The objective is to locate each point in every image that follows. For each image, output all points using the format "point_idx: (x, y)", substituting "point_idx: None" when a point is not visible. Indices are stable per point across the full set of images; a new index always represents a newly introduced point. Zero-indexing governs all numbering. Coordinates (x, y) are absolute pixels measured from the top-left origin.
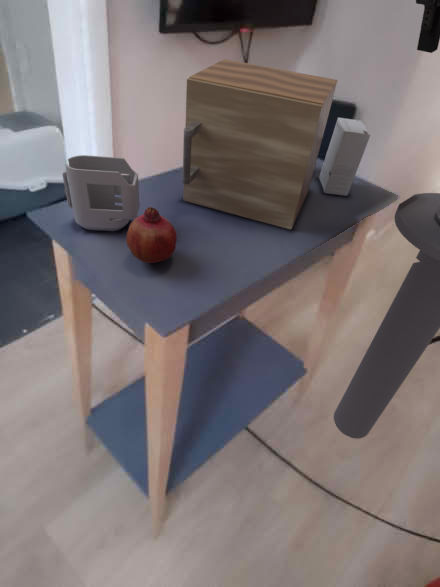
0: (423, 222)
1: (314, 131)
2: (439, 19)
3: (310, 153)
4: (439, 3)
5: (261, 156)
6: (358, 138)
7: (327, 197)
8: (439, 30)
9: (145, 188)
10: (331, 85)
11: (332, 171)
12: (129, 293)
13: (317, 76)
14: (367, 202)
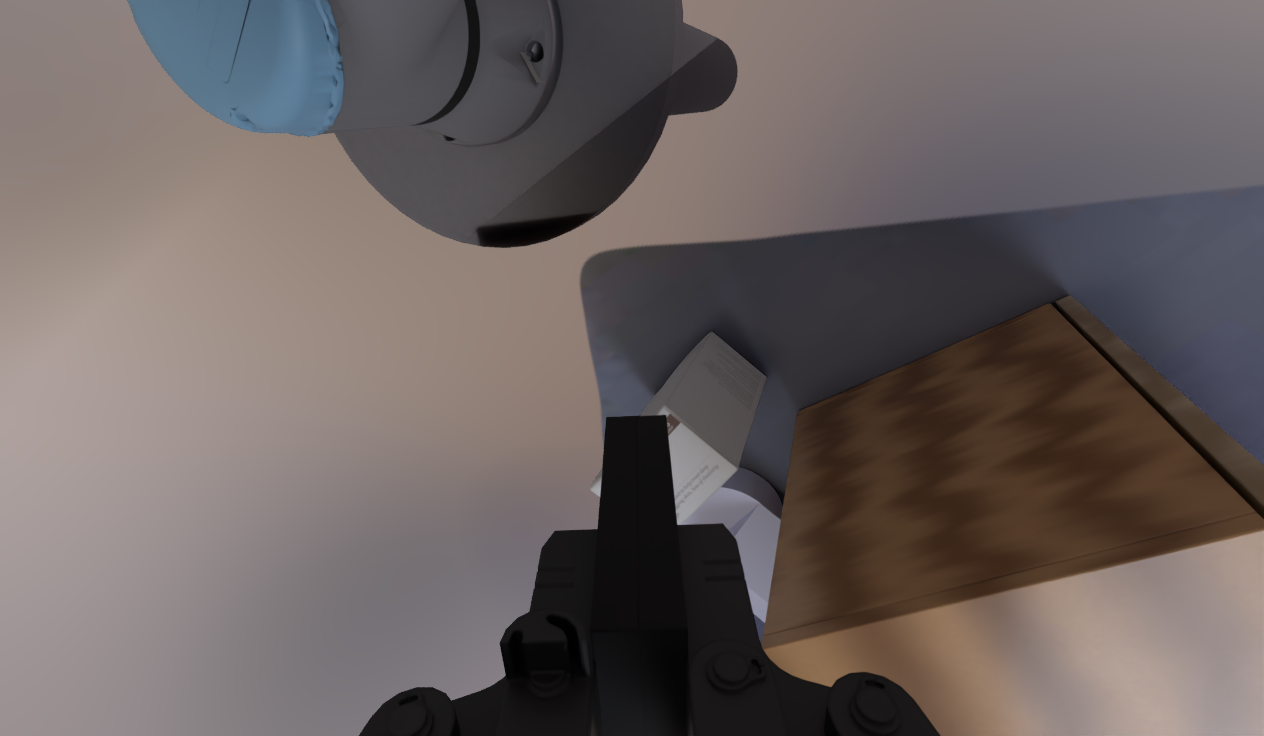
0: (583, 127)
1: (1244, 449)
2: (667, 545)
3: (1168, 405)
4: (736, 656)
5: None
6: (698, 423)
7: (776, 357)
8: (629, 488)
9: None
10: (881, 630)
11: (756, 403)
12: None
13: None
14: (687, 273)
